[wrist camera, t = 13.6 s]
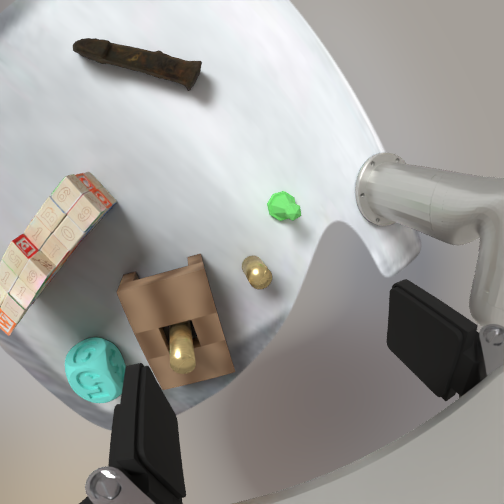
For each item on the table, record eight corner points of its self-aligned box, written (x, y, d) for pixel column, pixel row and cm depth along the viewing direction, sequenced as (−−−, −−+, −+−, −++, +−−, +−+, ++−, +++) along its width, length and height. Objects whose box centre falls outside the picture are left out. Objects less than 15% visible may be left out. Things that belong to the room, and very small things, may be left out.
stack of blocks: (89, 169, 35) (56, 177, 24) (118, 201, 38) (95, 220, 27) (13, 270, 36) (-24, 305, 25) (39, 296, 39) (8, 338, 27)
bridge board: (200, 253, 43) (204, 268, 37) (228, 349, 49) (235, 371, 44) (123, 274, 41) (116, 292, 36) (162, 366, 48) (162, 389, 42)
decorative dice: (92, 376, 45) (85, 406, 38) (71, 342, 42) (59, 371, 35) (129, 368, 46) (125, 399, 39) (110, 332, 43) (101, 362, 36)
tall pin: (186, 304, 45) (191, 351, 34) (192, 321, 46) (198, 370, 35) (166, 310, 44) (166, 357, 33) (173, 326, 46) (175, 376, 35)
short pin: (260, 253, 45) (270, 264, 41) (264, 272, 46) (273, 285, 42) (239, 258, 45) (247, 271, 40) (244, 277, 46) (252, 292, 41)
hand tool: (203, 68, 35) (206, 58, 31) (190, 93, 36) (192, 85, 31) (86, 35, 29) (77, 24, 24) (73, 59, 29) (63, 49, 25)
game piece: (277, 225, 44) (291, 236, 39) (261, 203, 43) (274, 210, 37) (299, 208, 44) (317, 216, 39) (284, 185, 43) (300, 190, 37)
